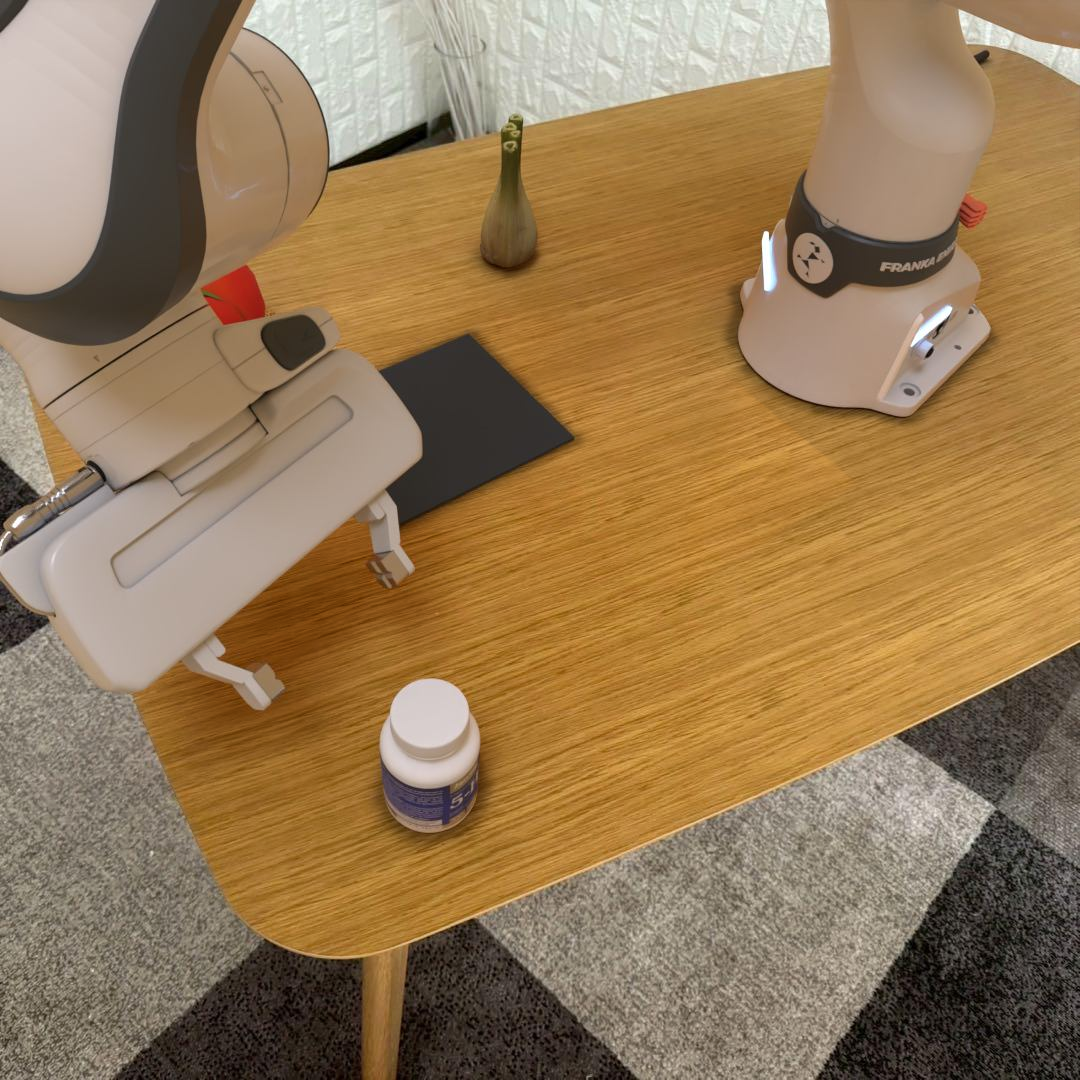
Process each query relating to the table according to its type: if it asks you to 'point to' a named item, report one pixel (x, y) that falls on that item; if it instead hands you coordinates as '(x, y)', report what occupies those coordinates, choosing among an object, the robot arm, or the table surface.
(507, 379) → the mat
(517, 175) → the fennel bulb
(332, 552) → the table surface
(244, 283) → the tomato
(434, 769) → the pill bottle
